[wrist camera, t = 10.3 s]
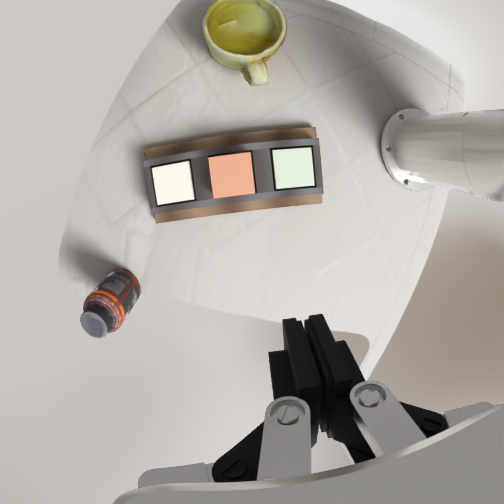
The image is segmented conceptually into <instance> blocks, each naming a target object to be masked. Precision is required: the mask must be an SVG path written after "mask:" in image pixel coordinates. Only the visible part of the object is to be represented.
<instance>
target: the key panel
mask: <svg viewBox="0 0 504 504" xmlns="http://www.w3.org/2000/svg"><path fill="white" fill-rule="evenodd" d="M296 148H311V151H312V162H313V173H314V185H315V186H303V187H292V188H281V189H276V188H275V187H274V179H273V170H272V160H271V151H272V150H282V149H296ZM144 151H145V158H146V161H143V166H144V173H145V180H146V186H147V192H148V198H149V204H150V210H151V215H154V214H155V220H156V224H157V223H163V222H170V221H176V220H183V219H190V218H197V217H204V216H212V215H219V214H227V213H235V212H243V211H252V210H260V209H269V208H279V207H288V206H298V205H308V204H319V203H322V194H323V180H322V167H321V156H320V146H319V138H317V135H316V127H307V128H289V129H275V130H263V131H253V132H244V133H235V134H228V135H220V136H213V137H207V138H201V139H195V140H189V141H183V142H178V143H173V144H168V145H163V146H158V147H154V148H149V149H145V150H144ZM247 152H250V153H251V161H252V170H253V178H254V187H255V194H246V195H238V196H230V197H222V198H215V199H214V198H213V190H212V183H211V176H210V168H209V161H208V158H210V157H216V156H223V155H231V154H239V153H247ZM187 161H191V163H192V171H193V178H194V185H195V192H196V198H195V199H193V200H186V201H180V202H173V203H167V204H161V205H158V204H157V198H156V192H155V186H154V179H153V173H152V168H155V167H160V166H165V165H170V164H176V163H181V162H187Z"/></svg>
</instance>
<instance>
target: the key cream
mask: <svg viewBox="0 0 504 504" xmlns="http://www.w3.org/2000/svg"><path fill="white" fill-rule="evenodd" d="M152 173H153V179H154V186H155V192H156V198H157V204H158V205H161V204H167V203H173V202H180V201H186V200H193V199H195V198H196V192H195V185H194V178H193V171H192V163H191V161H187V162H181V163H176V164H170V165H165V166H160V167H155V168H152Z"/></svg>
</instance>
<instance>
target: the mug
mask: <svg viewBox="0 0 504 504" xmlns="http://www.w3.org/2000/svg"><path fill="white" fill-rule="evenodd" d="M202 32H203V36H204V39H205V41H206V43H207V45H208V48H209V51H210V53H211V55H212V56H213V58H214V59H215V60H216V61H217V62H218V63H220V64H222V65H223V66H225V67H228V68H232V69H236V70H239V71H240V72H242V74H243V75H244V78H245V80H246V81H248V83H249V84H250V85H251V86H261V85H265V84H267V83H268V74H267V67H266V63H265V61H267V60H268V59H269V58H270V57H271V56H272V55H273V54H274V53H275V52H276V51H277V50H278V49H279V48H280V46H281V45H282V43H283V41H284V39H285V36H286V32H287V22H286V18H285V15H284V13H283V12H282V10H281V9H280V8H279V7H278V6H277V5H275V4H274V3H272V2H271V1H269V0H217V1H215V2H214V3H213V4H212V5H211V6H210V7H209V8H208V9H207V11H206V13H205V15H204V18H203V21H202Z"/></svg>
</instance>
